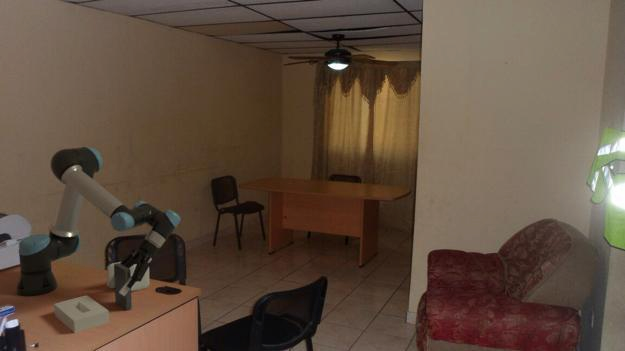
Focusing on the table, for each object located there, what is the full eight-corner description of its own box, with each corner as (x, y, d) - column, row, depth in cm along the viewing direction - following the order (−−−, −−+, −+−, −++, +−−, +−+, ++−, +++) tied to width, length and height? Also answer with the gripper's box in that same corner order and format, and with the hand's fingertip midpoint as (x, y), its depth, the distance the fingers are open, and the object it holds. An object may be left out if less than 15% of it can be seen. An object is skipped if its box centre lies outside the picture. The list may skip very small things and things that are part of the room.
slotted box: (54, 318, 177) (53, 303, 176) (87, 309, 186) (86, 295, 185) (75, 337, 163) (74, 320, 163) (109, 326, 172) (108, 310, 171)
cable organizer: (115, 296, 199) (114, 270, 197) (107, 288, 207) (106, 263, 205) (149, 288, 209) (149, 263, 207) (141, 281, 217) (140, 257, 215)
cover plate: (115, 302, 189) (113, 264, 186) (120, 300, 190) (118, 263, 188) (126, 309, 182) (125, 270, 179) (131, 308, 183) (130, 269, 181)
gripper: (172, 254, 186) (135, 303, 177) (144, 242, 202) (109, 287, 193) (159, 244, 182) (121, 293, 173) (132, 233, 197) (96, 277, 188)
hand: (115, 290), depth 183 cm, fingers open, 10 cm apart
